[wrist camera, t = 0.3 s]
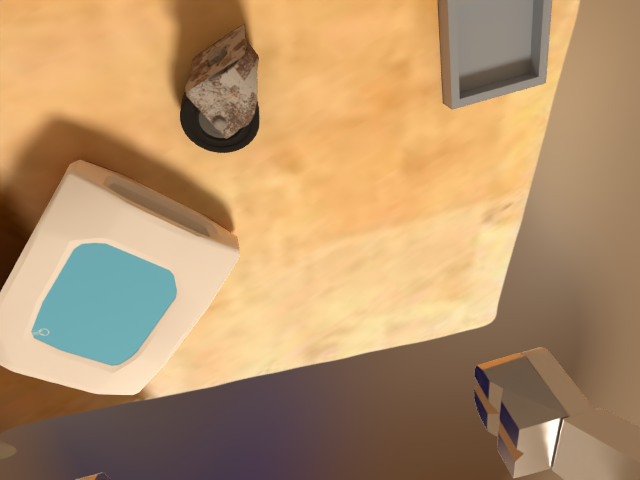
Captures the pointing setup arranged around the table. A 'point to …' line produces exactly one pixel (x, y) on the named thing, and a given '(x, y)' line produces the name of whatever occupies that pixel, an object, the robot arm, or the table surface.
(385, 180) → the table surface
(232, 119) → the caster wheel
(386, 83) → the table surface
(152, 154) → the table surface
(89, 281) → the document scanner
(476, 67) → the tray
